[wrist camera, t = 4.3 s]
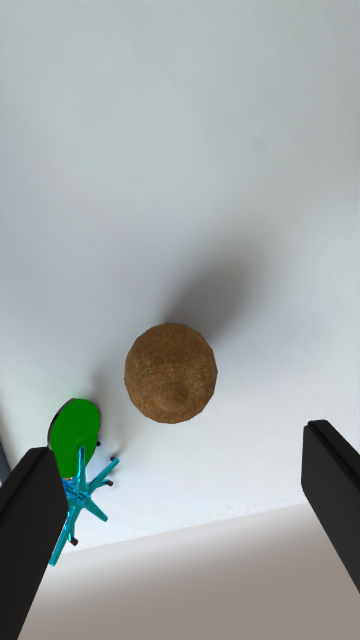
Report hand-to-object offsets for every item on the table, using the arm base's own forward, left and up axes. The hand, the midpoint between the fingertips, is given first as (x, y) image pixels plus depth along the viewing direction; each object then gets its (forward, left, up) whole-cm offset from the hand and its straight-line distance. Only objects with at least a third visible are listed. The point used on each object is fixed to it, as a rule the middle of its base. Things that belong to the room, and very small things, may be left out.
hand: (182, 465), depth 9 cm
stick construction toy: (+9, -10, -12) cm, 18 cm away
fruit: (0, 0, -12) cm, 12 cm away
